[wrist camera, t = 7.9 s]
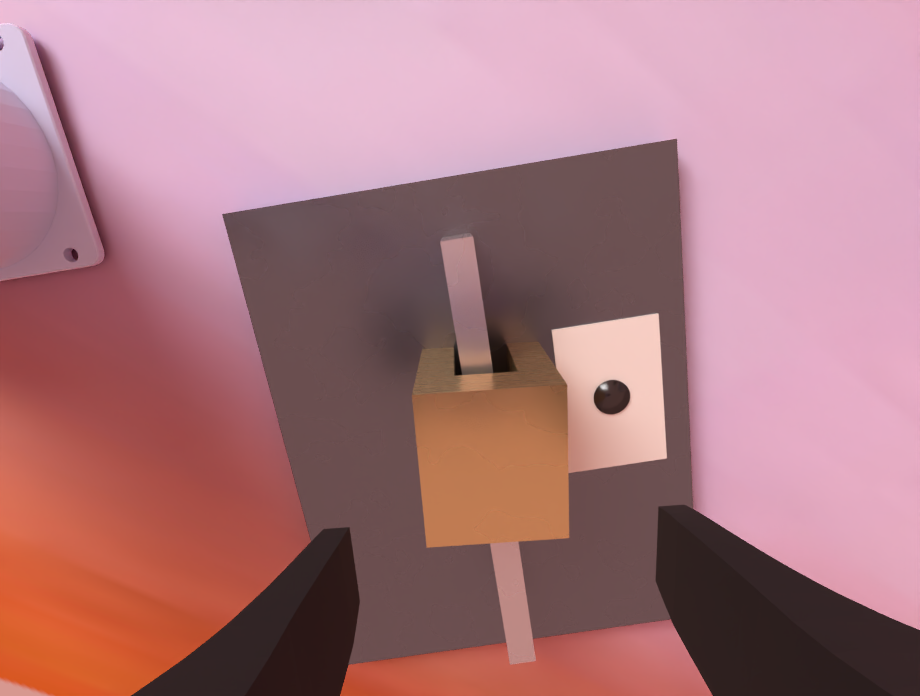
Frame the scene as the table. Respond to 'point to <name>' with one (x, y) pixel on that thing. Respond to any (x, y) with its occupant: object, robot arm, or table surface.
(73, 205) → the robot arm
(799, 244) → the table surface
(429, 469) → the brass clip
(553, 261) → the plate
